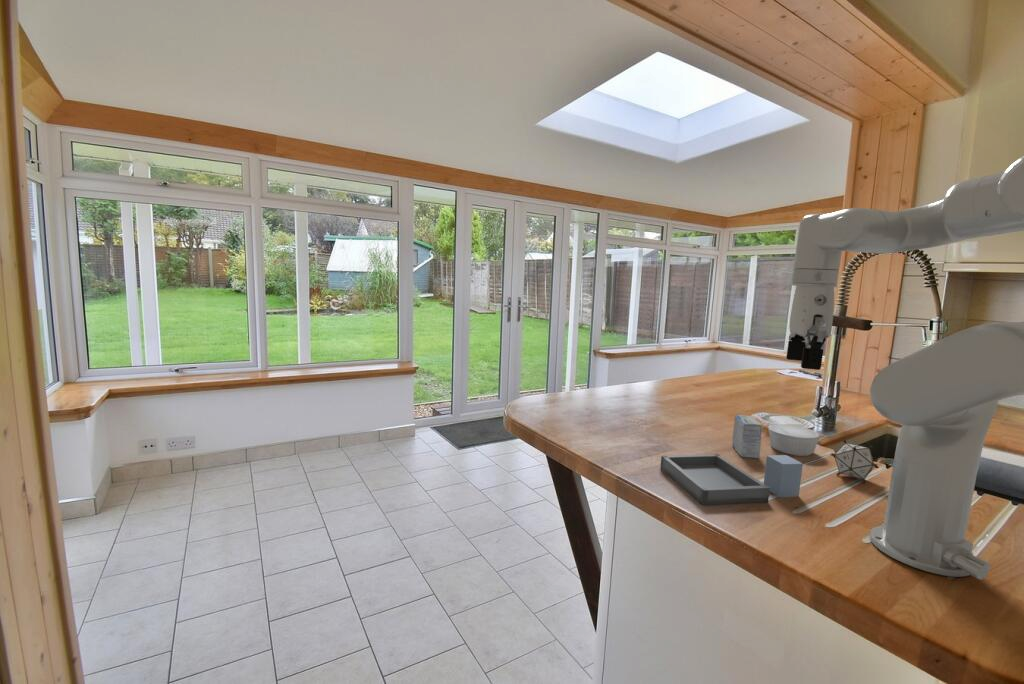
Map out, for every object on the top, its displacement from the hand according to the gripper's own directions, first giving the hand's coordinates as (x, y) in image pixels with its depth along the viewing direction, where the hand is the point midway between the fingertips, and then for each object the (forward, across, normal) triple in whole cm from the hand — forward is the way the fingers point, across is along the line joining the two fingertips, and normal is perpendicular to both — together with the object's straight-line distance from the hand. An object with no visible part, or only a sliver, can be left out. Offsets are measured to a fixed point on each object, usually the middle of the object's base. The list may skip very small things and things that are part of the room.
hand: (802, 364), depth 92 cm
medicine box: (+27, +19, +4) cm, 33 cm away
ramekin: (+27, +26, -8) cm, 38 cm away
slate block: (+27, -3, +2) cm, 27 cm away
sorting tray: (+27, -4, +15) cm, 31 cm away
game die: (+27, +11, -16) cm, 33 cm away
